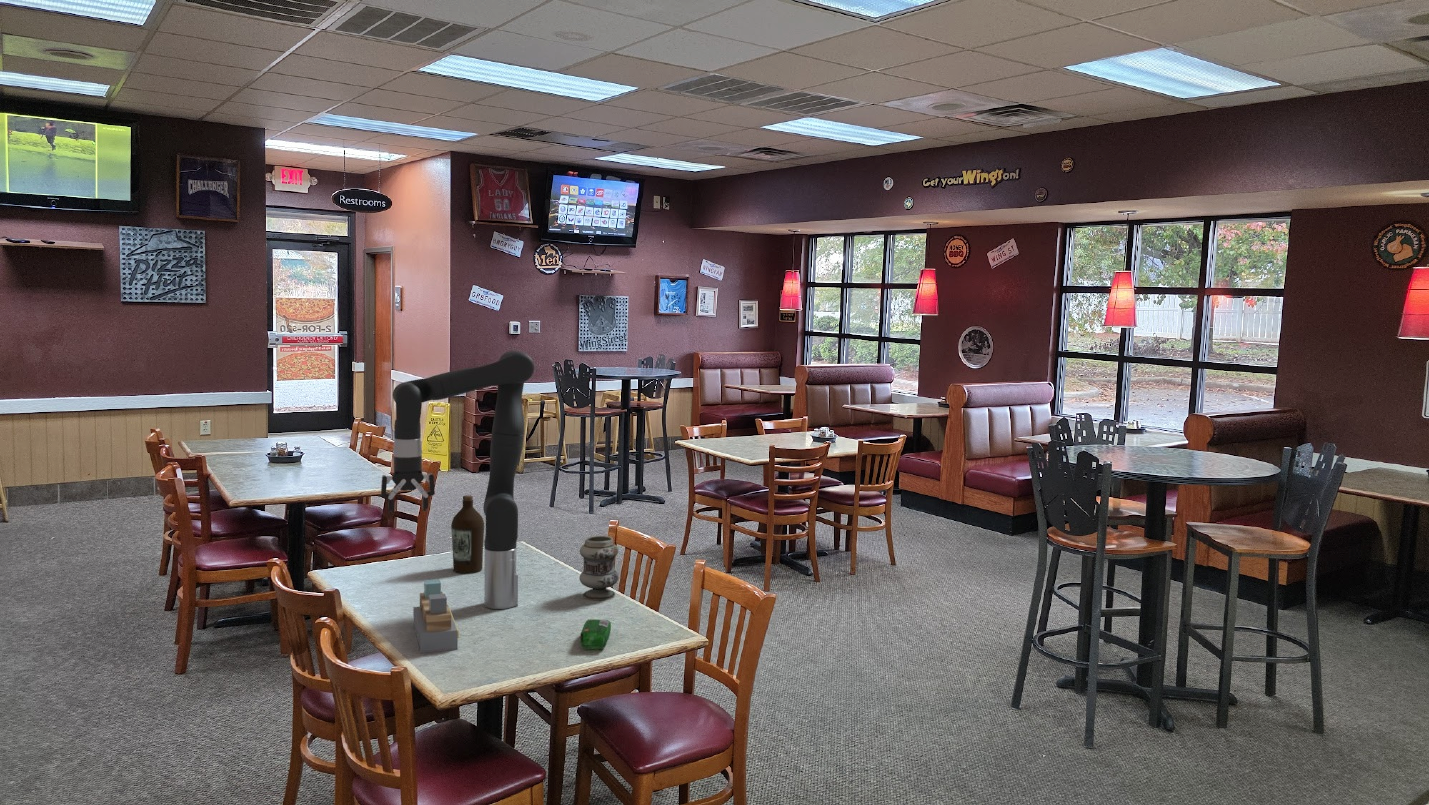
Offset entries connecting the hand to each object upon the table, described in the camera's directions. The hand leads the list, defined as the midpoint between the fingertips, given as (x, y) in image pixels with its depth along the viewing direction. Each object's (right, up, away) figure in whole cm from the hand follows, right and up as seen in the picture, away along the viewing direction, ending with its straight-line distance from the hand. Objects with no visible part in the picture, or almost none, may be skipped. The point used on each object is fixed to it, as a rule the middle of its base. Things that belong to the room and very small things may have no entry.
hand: (408, 511), depth 268 cm
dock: (+11, -32, -14) cm, 36 cm away
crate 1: (+9, -22, -8) cm, 25 cm away
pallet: (+12, -27, -14) cm, 32 cm away
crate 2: (+14, -24, -21) cm, 35 cm away
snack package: (+55, -33, -15) cm, 66 cm away
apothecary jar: (+50, -29, +26) cm, 64 cm away
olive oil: (+4, -26, +51) cm, 57 cm away
